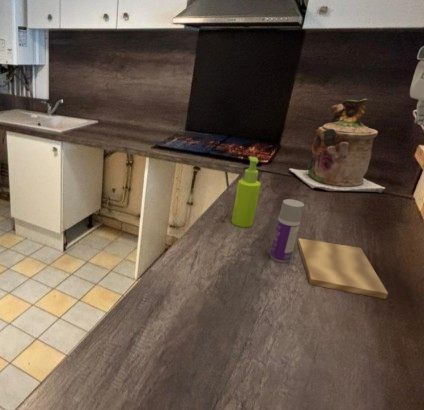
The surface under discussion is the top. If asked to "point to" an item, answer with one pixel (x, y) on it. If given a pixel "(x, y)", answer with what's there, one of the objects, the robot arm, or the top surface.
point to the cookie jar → (341, 152)
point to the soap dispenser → (246, 196)
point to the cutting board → (340, 268)
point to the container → (286, 230)
